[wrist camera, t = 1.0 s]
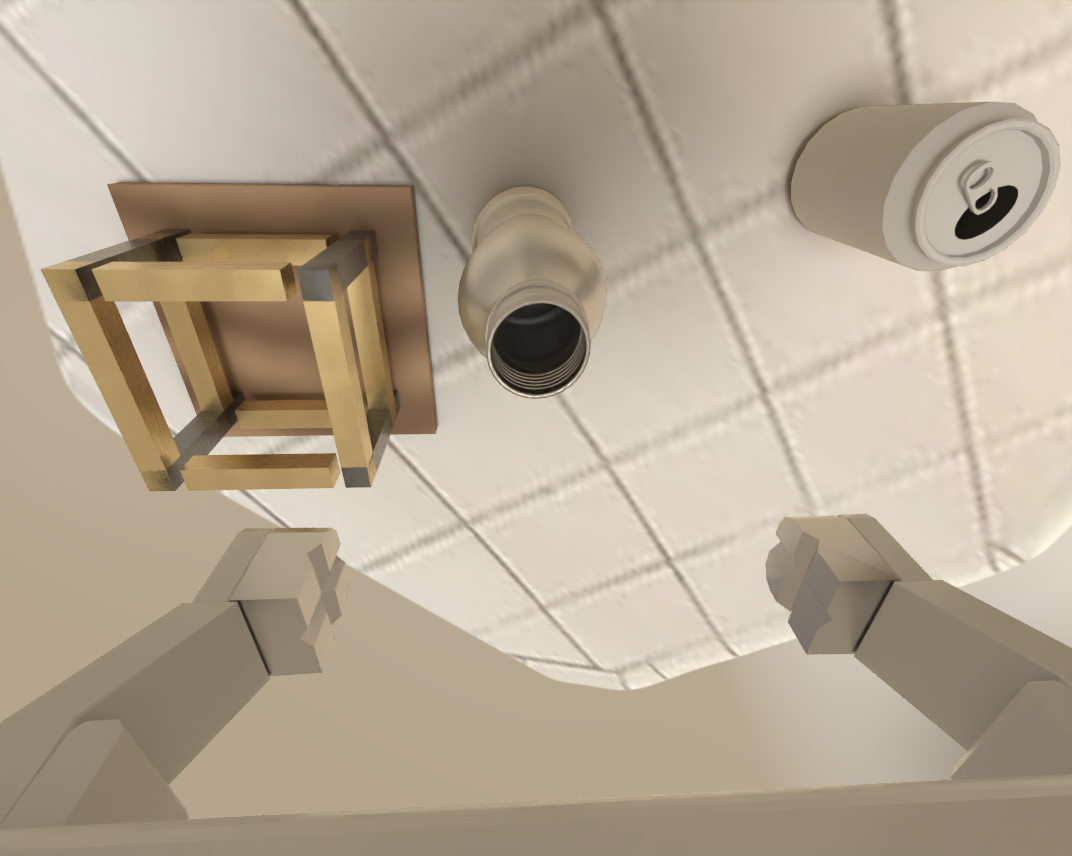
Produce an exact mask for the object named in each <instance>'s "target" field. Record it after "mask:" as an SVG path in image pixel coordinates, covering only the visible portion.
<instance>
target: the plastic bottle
mask: <svg viewBox="0 0 1072 856" xmlns="http://www.w3.org/2000/svg"><path fill="white" fill-rule="evenodd" d="M472 251H473V253H472V255H471V257H470V259H469V261H468V262H467V264H466V266H465V268H464V270H463V274H462V277H461V280H460V284H459V293H458V305H459V314H460V318H461V321H462V324H463V327H464V329H465V331H466V333H467V335H468V337H469V339H470V340H471V342H472V343H473V344H474V345H475V347H476V348H477V349H478V350H479V351H480V353H481V354H482V355H483V356H484V357H486V358H487V361H488V365H489V368H490V370H491V372H492V374H493V376H494V378H495V379H496V380H497V381H498V382H499V384H500V385H501V386H503V387H504V388H505V389H506V390H508V391H510V392H511V393H513V394H515V395H518V396H521V397H525V398H533V399H536V398H546V397H550V396H554V395H556V394H558V393H561V392H563V391H564V390H566V389H567V388H569V387H570V386H571V385H572V384H573V383H574V382H575V381H577V380H578V378H579V377H580V375H581V374H582V373H583V371H584V369H585V367H586V365H587V363H588V359H589V355H590V344H591V341H592V339H593V338H594V336H595V334H596V332H597V330H598V328H599V326H600V323H601V320H602V317H603V313H604V309H605V305H606V292H607V289H606V281H605V275H604V272H603V269H602V266H601V263H600V261H599V259H598V257H597V256H596V254H595V252H594V251H593V249H592V248H591V247H590V245H589V244H588V243H587V242H586V241H585V240H584V239H583V238H582V237H581V236H579V235H578V234H577V233H575V232H574V231H573V225H572V222H571V219H570V217H569V214H568V213H567V211H566V209H565V208H564V206H563V205H562V204H561V203H560V202H559V201H558V200H557V198H555V197H554V196H552V195H551V194H550V193H548V192H546V191H544V190H541V189H539V188H534V187H528V186H523V187H514V188H511V189H507V190H505V191H503V192H501V193H499V194H497V195H496V196H495V197H494V198H492V199H491V200H490V201H489V202H488V203H487V204H486V205H485V207H484V208H483V209H482V210H481V212H480V214H479V216H478V218H477V220H476V223H475V226H474V229H473V235H472Z"/></svg>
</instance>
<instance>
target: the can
mask: <svg viewBox="0 0 1072 856" xmlns="http://www.w3.org/2000/svg"><path fill="white" fill-rule="evenodd" d="M1059 169H1060V155H1059V144H1058V143H1057V141H1056V139H1055V137H1054V136H1053V134H1052V132H1051V130H1050V129H1049V128H1048V127H1046V126H1044V125H1042V124H1041V123H1039V122H1038V121H1037V120H1036V118H1035V116H1034V115H1033V114H1032V113H1031V112H1029V111H1027V110H1025V109H1024V108H1022V107H1020V106H1018V105H1017V104H1015V103H1001V102H972V103H944V104H916V105H889V106H862V107H859V108H856V109H853V110H849V111H846V112H843V113H841V114H840V115H838V116H837V117H835V118H834V119H832V120H831V121H829V122H828V123H826V124H825V125H823V126H822V128H821V129H820V130H819V131H818V132H817V133H816V134H815V135H814V136H813V137H812V138H811V140H810V141H809V142H808V143H807V145H806V147H805V148H804V150H803V152H802V154H801V156H800V157H799V159H798V161H797V163H796V167H795V170H794V174H793V178H792V181H791V203H792V206H793V208H794V211H795V214H796V217H797V218H798V220H799V221H800V222H801V223H802V224H803V225H804V226H805V227H806V228H807V229H808V230H810V231H812V232H815V233H817V234H819V235H822V236H824V237H827V238H830V239H832V240H835V241H838V242H841V243H843V244H846V245H849V246H851V247H854V248H857V249H860V250H862V251H865V252H868V253H870V254H873V255H876V256H879V257H881V258H884V259H887V260H889V261H892V262H895V263H898V264H900V265H903V266H906V267H908V268H911V269H914V270H917V271H942V270H945V269H949V268H953V267H956V266H966V265H970V264H973V263H977V262H980V261H984V260H986V259H988V258H990V257H992V256H993V255H995V254H997V253H999V252H1001V251H1003V250H1004V249H1006V248H1007V247H1008V246H1010V245H1011V244H1012V243H1013V242H1014V241H1016V240H1017V239H1018V238H1019V237H1020V236H1022V235H1023V234H1024V233H1025V232H1026V231H1027V230H1028V229H1029V227H1030V226H1031V225H1032V224H1033V222H1034V221H1035V220H1036V219H1037V218H1038V216H1039V215H1040V214H1041V213H1042V211H1043V210H1044V208H1045V206H1046V204H1047V202H1048V200H1049V198H1050V196H1051V194H1052V192H1053V190H1054V189H1055V185H1056V181H1057V177H1058V173H1059Z"/></svg>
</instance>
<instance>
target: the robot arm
mask: <svg viewBox="0 0 1072 856" xmlns="http://www.w3.org/2000/svg"><path fill="white" fill-rule="evenodd" d="M776 535H777V536H778V538H779V540H780V543H779V544H777V545H776V546H775V547H774V548H773V549H771V550H770V551H769V554H768V558H767V561H766V579H767V582H768V585H769V588H770V591H771V593H772V594H773V596H774V598H775V600H776V602H778V603H779V604H781V605H782V606H784V607H785V608H786V609H788V610H789V611H790V615H789V619H788V623H789V625H790V627H791V628H792V630H793V632H794V633H795V635H796V637H797V639H798V640H799V642H800V644H801V646H802V647H803V649H804V651H805V653H806V654H855V655H854V657H855V658H856V659H858V660H859V661H860V662H861V663H863V664H864V665H865V666H866V667H867V668H868V669H870V670H871V671H872V672H873V673H875V674H876V675H877V676H878V677H879V678H881V679H882V680H883V681H884V682H886V683H887V684H888V685H889V686H890V687H892V688H893V689H894V690H895V691H896V692H897V693H899V694H900V695H901V696H902V697H903V698H905V699H906V700H907V701H908V702H909V703H911V704H912V705H913V706H914V707H915V708H917V709H918V710H919V711H920V712H921V713H923V714H924V715H925V716H926V717H927V718H929V719H930V720H931V721H932V722H933V723H935V724H936V725H937V726H938V727H939V728H941V729H942V730H943V731H944V732H945V733H947V734H948V735H949V736H950V737H952V738H953V739H954V740H955V741H956V742H957V743H959V744H960V745H961V746H962V747H963V748H965V749H966V750H967V751H968V752H967V753H966V754H965V755H964V756H963V757H962V759H961V760H960V761H959V762H958V763H957V764H956V766H955V767H954V768H953V771H952V774H951V779H952V780H941V781H921V782H902V783H883V784H863V785H843V786H823V787H803V788H784V789H766V790H765V789H764V790H744V791H725V792H705V793H686V794H666V795H646V796H628V797H610V798H591V799H590V798H589V799H570V800H553V801H552V800H551V801H533V802H532V801H531V802H514V803H495V804H494V803H493V804H474V805H456V806H435V807H417V808H399V809H398V808H397V809H378V810H359V811H340V812H320V813H302V814H282V815H262V816H243V817H224V818H205V819H188V818H189V816H188V813H187V811H186V808H185V807H184V805H183V804H182V803H181V801H180V800H179V799H178V797H177V796H176V795H175V793H174V792H173V791H172V789H171V788H170V787H169V784H170V783H171V782H172V781H173V780H174V779H175V778H176V777H177V775H178V774H179V773H180V772H181V771H182V770H183V769H184V768H185V767H186V766H187V765H188V764H189V763H190V762H191V761H192V760H193V759H194V758H195V757H196V756H197V755H198V753H200V752H201V750H202V749H203V748H204V747H205V746H206V745H207V744H208V743H209V742H210V741H211V740H212V739H213V738H214V737H215V736H216V735H217V734H218V733H219V732H220V731H221V730H222V729H223V728H224V727H225V725H226V724H227V723H228V722H229V721H230V720H231V719H232V718H233V717H234V716H235V715H236V714H237V713H238V712H239V711H240V710H241V709H242V708H243V707H244V705H246V704H247V703H248V702H249V700H250V699H251V698H252V697H253V696H254V695H255V694H256V693H257V692H258V691H259V690H260V689H261V688H262V687H263V686H264V685H265V684H266V683H267V682H268V681H269V679H270V677H269V676H278V675H294V674H309V673H322V672H323V669H324V666H325V663H326V660H327V657H328V655H329V652H330V649H331V646H332V643H333V640H334V635H333V631H332V628H331V624H333V623H334V622H335V621H336V620H337V619H338V618H339V617H340V616H341V615H342V613H343V610H344V606H345V603H346V598H347V590H348V575H347V569H346V564H345V562H344V561H343V560H341V559H340V558H339V557H338V556H336V555H337V552H338V549H339V547H340V541H339V538H338V534H337V531H336V530H334V529H332V528H275V529H245V530H243V531H241V532H240V533H238V534H237V536H236V537H235V539H234V540H233V542H232V543H231V545H230V546H229V548H228V549H227V551H226V552H225V554H224V555H223V557H222V558H221V560H220V561H219V563H218V564H217V566H216V567H215V569H214V570H213V572H212V573H211V575H210V576H209V578H208V579H207V581H206V582H205V584H204V586H203V587H202V588H201V590H200V591H199V593H198V595H197V596H196V598H195V599H194V601H193V602H192V603H183V604H181V605H179V606H178V607H176V608H174V609H173V610H172V611H170V612H168V613H167V614H165V615H164V616H162V617H161V618H159V619H158V620H156V621H155V622H153V623H152V624H150V625H149V626H147V627H145V628H144V629H143V630H141V631H140V632H138V633H136V634H135V635H133V636H132V637H130V638H129V639H127V640H126V641H124V642H123V643H121V644H120V645H118V646H117V647H115V648H114V649H112V650H110V651H109V652H107V653H106V654H104V655H103V656H101V657H100V658H98V659H97V660H95V661H94V662H92V663H91V664H89V665H88V666H86V667H84V668H83V669H81V670H80V671H78V672H77V673H75V674H74V675H72V676H71V677H69V678H68V679H66V680H65V681H63V682H62V683H60V684H58V685H57V686H55V687H54V688H52V689H51V690H49V691H48V692H46V693H45V694H43V695H42V696H40V697H39V698H37V699H36V700H34V701H33V702H31V703H30V704H28V705H26V706H25V707H24V708H22V709H21V710H19V711H17V712H16V713H14V714H13V715H11V716H10V717H8V718H7V719H5V720H4V721H2V722H1V724H0V856H1072V648H1070V647H1069V646H1067V645H1065V644H1063V643H1061V642H1059V641H1057V640H1055V639H1053V638H1052V637H1050V636H1048V635H1046V634H1044V633H1042V632H1040V631H1038V630H1036V629H1034V628H1032V627H1031V626H1028V625H1027V624H1025V623H1023V622H1021V621H1019V620H1017V619H1015V618H1013V617H1011V616H1009V615H1008V614H1006V613H1004V612H1002V611H1000V610H998V609H996V608H994V607H992V606H990V605H989V604H987V603H985V602H983V601H981V600H979V599H977V598H975V597H973V596H971V595H969V594H968V593H966V592H964V591H962V590H960V589H958V588H956V587H954V586H952V585H950V584H949V583H947V582H945V581H943V580H933V579H932V578H931V577H930V576H929V575H928V574H927V573H926V572H925V571H924V570H923V569H922V568H921V567H920V566H919V565H918V563H917V562H916V561H915V560H914V559H913V558H912V557H911V556H910V555H909V554H908V553H907V552H906V551H905V550H904V549H903V548H902V547H901V545H900V544H899V543H898V542H897V541H896V540H895V539H894V538H893V537H892V536H891V535H890V534H889V533H888V532H887V531H886V530H885V529H884V527H883V526H882V525H881V524H880V523H879V522H878V521H877V520H876V519H875V518H873V517H871V516H869V515H867V514H851V515H838V516H804V517H785V518H784V519H783V520H782V521H781V522H780V523H779V526H778V528H777V531H776Z"/></svg>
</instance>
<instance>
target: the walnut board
mask: <svg viewBox="0 0 1072 856" xmlns="http://www.w3.org/2000/svg"><path fill="white" fill-rule="evenodd" d="M107 185H108V188H109V190H110V193H111V196H112V198H113V201H114V203H115V206H116V208H117V211H118V214H119V216H120V219H121V221H122V224H123V226H124V229H125V232H126V234H127V237H128V239H129V241H130V240H133V239H136V238H139V237H142V236H145V235H148V234H151V233H154V232H157V231H161V230H164V229H190V230H191V233H192V234H307V235H333V240H334V242H336V241H337V240H338V239H340V238H341V237H343V236H344V235H345V234H347V233H348V232H349V231H351V230H375V233H376V240H377V247H378V256H377V257H376V258H375V259H374V267H375V274H376V280H377V287H378V294H379V301H380V307H381V314H382V321H383V327H384V334H385V341H386V347H387V354H388V361H389V368H390V374H391V381H392V388H393V390H398V394H399V401H400V409H399V412H398V415H397V418H396V420H395V423H394V426H393V429H392V431H391V434H436V430H437V417H436V407H435V397H434V388H433V378H432V368H431V358H430V348H429V338H428V329H427V319H426V309H425V299H424V289H423V279H422V270H421V260H420V250H419V240H418V230H417V220H416V210H415V201H414V191H413V186H394V185H307V184H220V183H133V182H119V183H113V184H107ZM300 267H301V266H297V265H292V268H293V272H294V277H295V281H296V285H297V289H298V293H297V294H296V295H294V296H293V297H292V298H291V299H290V300H288V301H200V303H201V306H202V309H203V312H204V315H205V318H206V321H207V324H208V327H209V330H210V332H211V335H212V338H213V341H214V344H215V347H216V350H217V353H218V356H219V359H220V362H221V365H222V368H223V371H224V374H225V377H226V380H227V383H228V386H229V389H230V391H243V393H244V396H245V399H246V401H258V400H326V399H325V394H324V390H323V386H322V381H321V377H320V373H319V368H318V364H317V360H316V355H315V351H314V347H313V342H312V338H311V334H310V329H309V325H308V321H307V316H306V312H305V308H304V303H303V299H302V295H301V290H300V286H299V282H298V277H297V273H296V270H297V269H298V268H300ZM343 296H344V301H345V307H346V312H347V317H348V323H349V328H350V333H351V339H352V344H353V349H354V355H355V360H356V366H357V371H358V376H359V382H360V387H361V392H362V398H363V401H364V406H365V412H366V414H367V412H368V410H369V408H368V402H367V397H366V391H365V386H364V380H363V375H362V369H361V364H360V358H359V353H358V347H357V341H356V336H355V330H354V325H353V319H352V314H351V308H350V303H349V297H348V292H347V288H346V290H345V291H344V292H343ZM153 304H154V306H155V309H156V311H157V314H158V316H159V319H160V322H161V324H162V327H163V329H164V332H165V334H166V337H167V340H168V342H169V345H170V347H171V350H172V352H173V355H174V358H175V360H176V363H177V365H178V368H179V370H180V373H181V376H182V378H183V381H184V383H185V386H186V388H187V391H188V394H189V396H190V399H191V401H192V404H193V406H194V409H195V412H196V414H197V415H198V414H199V413H200V412H201V408H200V406H199V403H198V400H197V398H196V395H195V392H194V390H193V387H192V385H191V382H190V379H189V377H188V374H187V371H186V369H185V366H184V364H183V361H182V358H181V356H180V353H179V351H178V348H177V345H176V343H175V340H174V337H173V335H172V332H171V330H170V327H169V324H168V322H167V319H166V316H165V314H164V311H163V309H162V306H161V303H160V301H153ZM307 435H334V434H333V429H332V428H285V429H241V428H240V425H239V422H238V421H237V422H236V423H235V424H234V426H233V427H232V428H231V429H230V430H229V431H228V432H227V433H226V435H225V436H224V437H231V436H307Z"/></svg>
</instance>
